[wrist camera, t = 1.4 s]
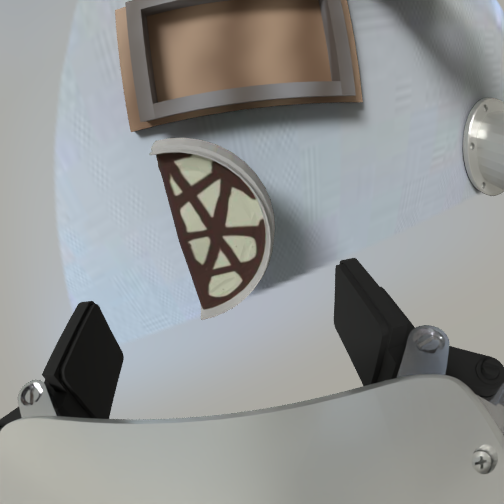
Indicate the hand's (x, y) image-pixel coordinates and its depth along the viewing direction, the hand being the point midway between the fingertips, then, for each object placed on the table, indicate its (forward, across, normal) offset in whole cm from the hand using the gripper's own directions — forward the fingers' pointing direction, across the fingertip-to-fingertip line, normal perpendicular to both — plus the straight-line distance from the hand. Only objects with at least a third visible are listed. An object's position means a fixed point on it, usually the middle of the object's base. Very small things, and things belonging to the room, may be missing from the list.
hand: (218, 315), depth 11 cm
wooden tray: (+17, -4, -13) cm, 22 cm away
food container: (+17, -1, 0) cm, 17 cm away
